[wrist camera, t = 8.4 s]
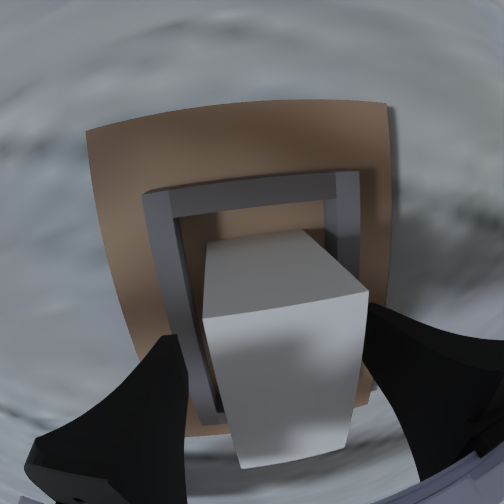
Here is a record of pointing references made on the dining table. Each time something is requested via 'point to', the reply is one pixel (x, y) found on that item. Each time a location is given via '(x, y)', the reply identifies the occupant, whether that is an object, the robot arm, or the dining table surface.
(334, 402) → the key block
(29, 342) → the dining table surface
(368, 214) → the cradle
